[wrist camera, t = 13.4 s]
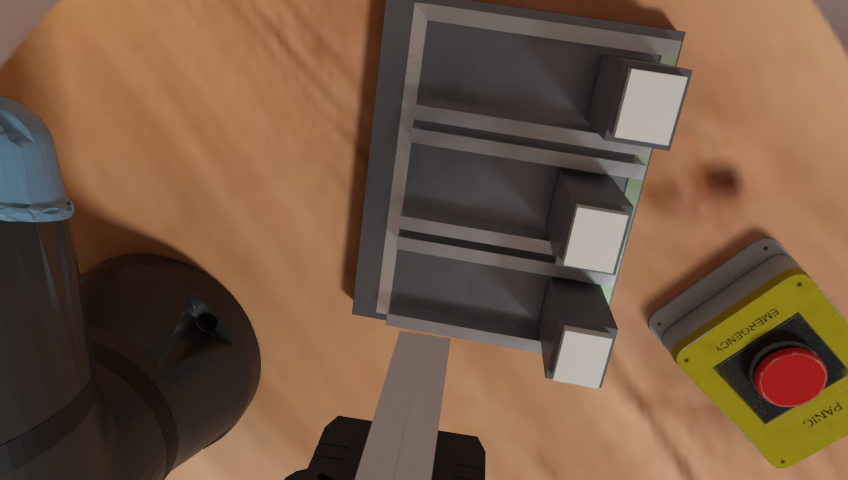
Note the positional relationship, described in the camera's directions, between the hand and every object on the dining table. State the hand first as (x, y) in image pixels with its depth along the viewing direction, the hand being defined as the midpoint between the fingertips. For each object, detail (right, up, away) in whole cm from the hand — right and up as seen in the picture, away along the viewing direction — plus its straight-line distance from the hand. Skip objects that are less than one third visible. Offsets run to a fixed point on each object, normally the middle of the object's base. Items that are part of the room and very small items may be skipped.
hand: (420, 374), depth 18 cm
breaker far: (+9, 0, +19) cm, 21 cm away
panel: (+5, +8, +19) cm, 21 cm away
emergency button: (+23, -3, +21) cm, 31 cm away
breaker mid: (+9, +6, +17) cm, 20 cm away
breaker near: (+11, +12, +15) cm, 22 cm away
